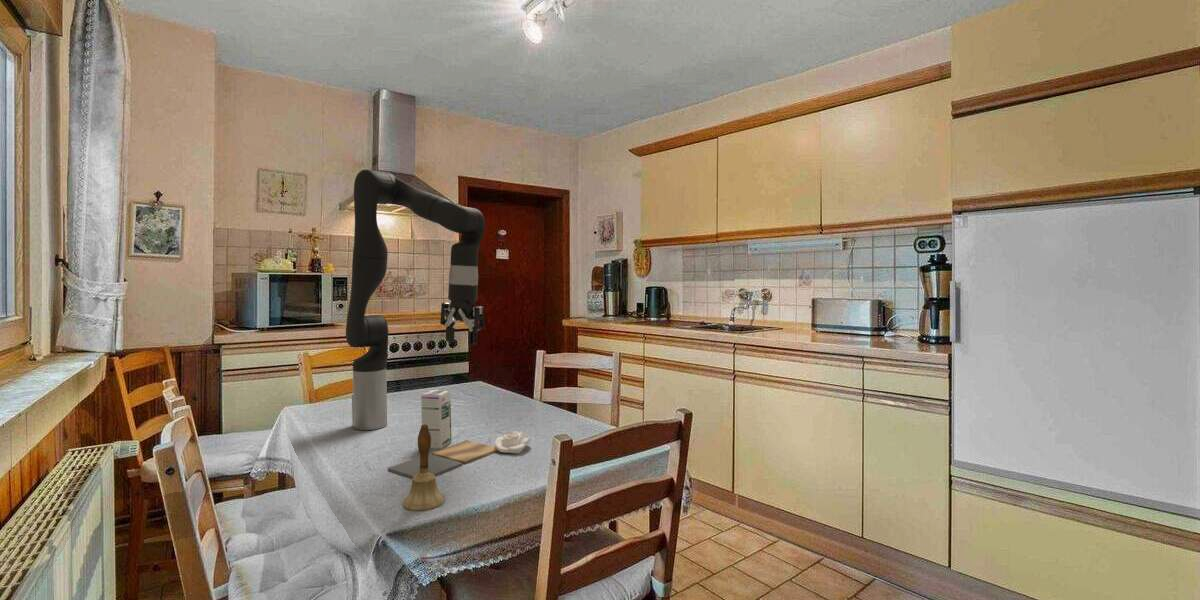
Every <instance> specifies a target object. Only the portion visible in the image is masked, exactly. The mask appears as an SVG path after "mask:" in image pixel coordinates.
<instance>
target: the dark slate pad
mask: <svg viewBox="0 0 1200 600" xmlns="http://www.w3.org/2000/svg"><path fill="white" fill-rule="evenodd" d="M461 466H463V463H461V462H457V461H453V460H450V459H446V458H443V457H439V456H435V455H432V453H431V454H430V453H429V454H428V472H429V473H432V474H434V475H435V477H437V476H439V475H442V474H444V473H447V472H449V471H452V470H454V469H457V468H459V467H461ZM387 471H389V472H390V473H391V472H392V473H395V474H398V475H401V476H404V477H408V478H411V479H413V477H414V476H415V475H417V474H418V473H419V472H420V456H417V457H415V458H412V459H410V460H407V461H404V462H401V463H397V464H395V465H392V466H390V467H387Z"/></svg>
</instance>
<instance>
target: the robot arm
mask: <svg viewBox="0 0 1200 600" xmlns="http://www.w3.org/2000/svg"><path fill="white" fill-rule="evenodd" d="M353 204H354V236H353V237H354V238H353V250H352V261H351V263H352V264H351V284H350V285H351V286H350V287H351V288H350V298H349V304H348V310H347V317H346V324H345V338H346V342H347V344H348V346H350V347H351V348H353V349H354V348H355V349H359V348H367V347H369V349H368V351H366V353H365V354H363V355H362V356H360V357H357V358H356V359H354V360H353V362H352V385H353V386H352V391H353V393H352V395H351V415H352V416H351V417H352V420H351V421H352V422H351V423H352V425H351V426H353V428H354V429H355V430H358V431H359V430H360V431H368V430H369V431H372V430H379V429H382V428H384V427H386V426H387V425H388V393H387V392H388V390H387V389H388V388H387V386H388V385H387V382H388V380H387V362H388V358H389V357H388V356H389V355H388V352H389V351H388V349H389V325H388V322H387V319H386V318H385V317H384V316H383V315H381V314H373V315H371V314H370V315H369V314H368V315H366V311H367V305H368V303H369V301H370V299H371V297H372V296H373V294H374V293H375V292H376V290H377V289H378V288H379V286H380V285H381V283H382V282H383V280H384V279H385V276H386V274H387V267H388V257H389V256H388V247H387V245H386V243H385V240H384V238H383V235H382V233H381V231H380V228H379V225H378V220H377V216H378V215H377V210H378V205H387V204H388V205H394V206H395V205H397V206H402V207H405V208H407V209H408V210H411V212H413V213H414V214H415V215H417V216H418V217H420V218H422V219H425V220H427V221H430V222H432V223H435V224H437V225H440V226H442V227H443V228H444V229H447V230H449V231H450V232H454V233H456V234H457V233H458V234H461V236H460V239H459V241H458V242H455V243H454V244H452V246H451V247H450V248H451V249H450V261H449V262H450V263H449V264H450V266H449V273H448V289H447V290H448V291H447V292H448V293H447V294H448V295H447V297H448V298H447V299H448V300H449V301H450V302H442V303H441V307H440V319H439V320H440V321H439V323H440V325H443V326H444V328H445V341H446V342H448V343H451V342H454V341H455V331H456V330H455V326H456V324H457V323H458V322H463V323H464V324H465V326H467V328H468V330H469V331H468V342H467V343H468V346H469V347H473V346H475V347H476V345H477V343H478V336H479V335H478V333H479V331H481V330H484V329H485V307H484V306H476V301H477V300H478V291H479V290H478V289H479V287H478V286H479V267H478V265H479V264H478V262H479V249H480V247H481V243H482V239H483V236H484V233H485V227H486V226H485V225H486V222H485V217H484V215H483V213H482V212H481V210H479V209H477V208H474V207H470V206H469V207H468V206H464V205H459V204H456V203H454V202H452V201H450V200H448V199H446V198H444V197H442V196H438V195H436V194H435V193H434V194H433V193H431V192H427V191H425V190H422V189H419V188H417V187H415V186H412V185H411V184H409V183H406V182H405V181H403V180H402V179H400V178H399V177H398V176H395V175H393V174H392V173H390V172H387V171H383V170H374V169H362V170H360V171H358V173H357V174H356V177H355V178H354V183H353Z"/></svg>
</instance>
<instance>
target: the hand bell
mask: <svg viewBox="0 0 1200 600" xmlns="http://www.w3.org/2000/svg"><path fill="white" fill-rule="evenodd" d="M430 446H431V435H430V432H429V429H428V425H422V424H420V429H419V432H418V436H417V448H418V452H419V457H420V472H419V473H418V474H417V475H415V476H414V477H413V478H411V479H412V481H411V487H410V490H409V493H408V495H407V496H406V497H405V498H404V500H403V501H402V507H403V508H404V509H407V510H410V511H428V510H432V509H436V508H438V507H440V506H442V505H443V504H444V503H445V502H446V498H445V496H444V494H443V493H441V492H440V489H439V488H438V485H437V481H436V476H435V475H434V474H432V473H429V472H428V454H430V450H431V448H430Z"/></svg>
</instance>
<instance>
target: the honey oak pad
mask: <svg viewBox="0 0 1200 600" xmlns="http://www.w3.org/2000/svg"><path fill="white" fill-rule="evenodd" d="M496 451H497V452H499V451H498V450H497V448H496V447H495V446H493V445H489V444H488V445H487V444H484V443H480V442H475V441H472V440H467V439H466V440H464V441H461V442H457V443H455V444H452V445H449V446H445V447H443V448H442V449H437V450H435V451H432V452H431V454H432V455H435V456H439V457H443V458H446V459H450V460H453V461H457V462H461V463H462V465H467V464H470V463H471V462H475V461H477V460H479V459H481V458H485V457H486V456H489V455H491V454H494V453H497V452H496Z"/></svg>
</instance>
